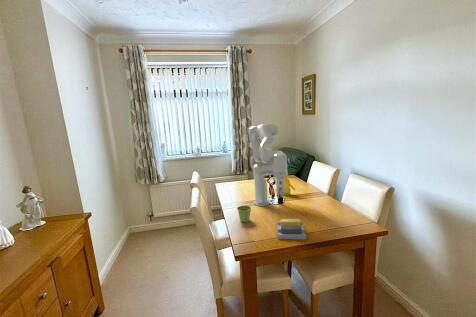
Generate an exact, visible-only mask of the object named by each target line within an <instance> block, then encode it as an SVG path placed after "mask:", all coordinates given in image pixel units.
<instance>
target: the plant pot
mask: <svg viewBox="0 0 476 317" xmlns="http://www.w3.org/2000/svg"><path fill="white" fill-rule="evenodd" d="M236 210H237V212H238V216H239V221H240V222H241V223H247V222H249V221H250V218H251V217H250V216H251V211H252V206H250V205H245V204H244V205H240V206H237V207H236Z"/></svg>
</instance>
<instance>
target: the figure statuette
mask: <svg viewBox="0 0 476 317" xmlns="http://www.w3.org/2000/svg"><path fill="white" fill-rule="evenodd" d="M288 176H289V172H288V170H287V172H286V177H285V194H283V196H289V195H291V189H292V190H293V191H294V192H295V191H296V190H297V189H296V188H295V187H294V185H292V183H291V181H290V179H289V178H288ZM274 191H276V192H277V190H276V188H275V189H274Z"/></svg>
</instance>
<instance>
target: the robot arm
mask: <svg viewBox="0 0 476 317" xmlns="http://www.w3.org/2000/svg"><path fill="white" fill-rule="evenodd" d="M247 133H248V138H249V141H250V142H251V148H252V156H253V160H254V161H255V162H257V163H256V164H254V165H253V166H252V172H253V173H252V174H253V181H254V199H255V200H253V205H255V206H258V207H264V206H268V205H270V203H271V202H270V200H268V181H267V179H266V178H265V176H272V175H273V177H274V178H275V189H276V190H277V191H276V197H277V205H284V195H283V194H285V177H286V172H287V171H288V169H287V168H288V167H287V164H288V163H287V160H288V159H287V154H286V153H284V152H283V151H282V150H280V149H279V150H273V149H272V148H269V147H271V146H272V145H274V143H275V138H274V137H275V136H277V135H278V133H279V127H278V126H277V124H275V123H263V124H260V125H254V126H253V125H252V126H251V127H249V129H248V132H247ZM259 162H260V163H259ZM261 162H262V163H261Z"/></svg>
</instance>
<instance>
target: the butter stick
mask: <svg viewBox="0 0 476 317" xmlns="http://www.w3.org/2000/svg"><path fill="white" fill-rule="evenodd" d="M280 222H281V226H300V222H301V221H300V219H299V218H280Z"/></svg>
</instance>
